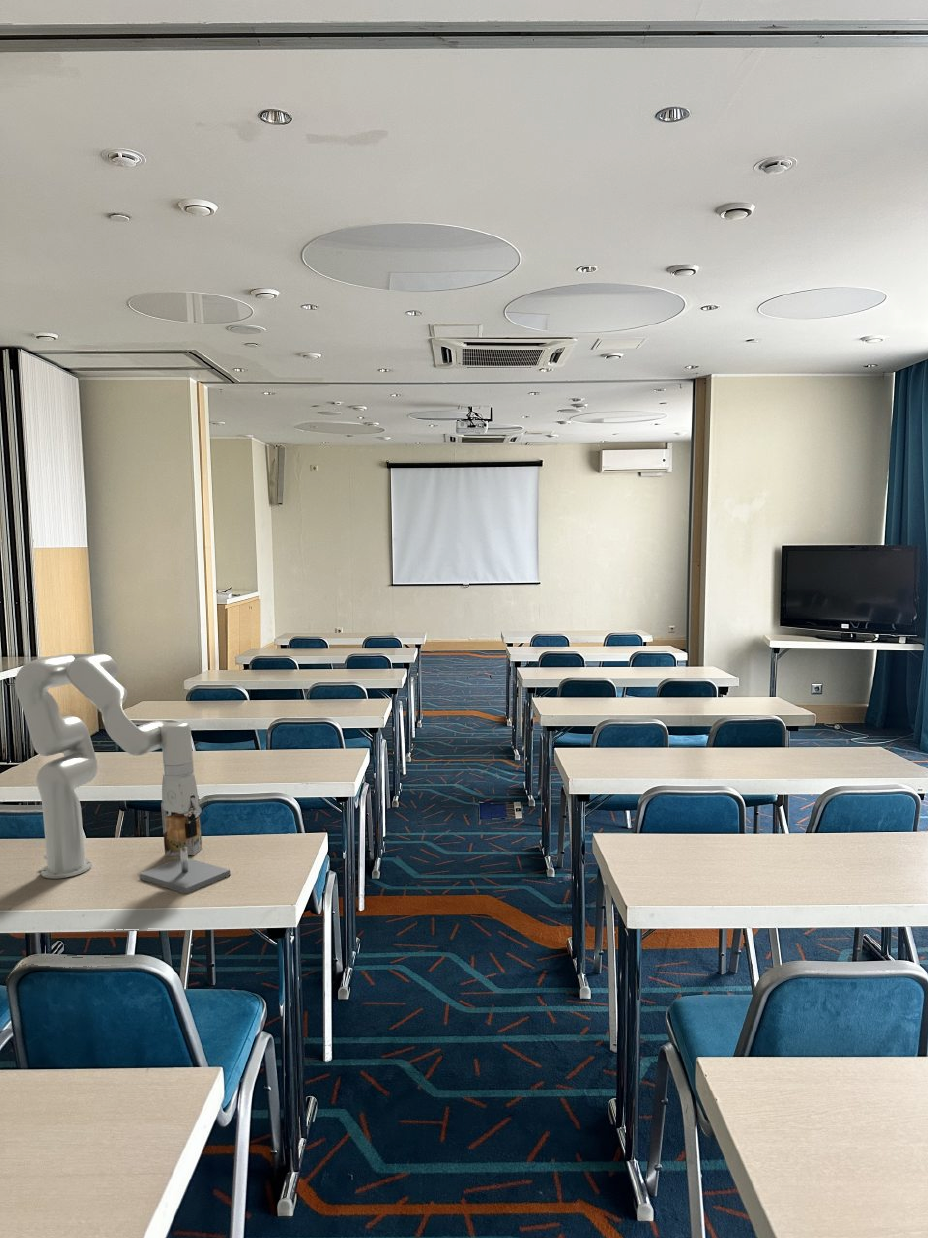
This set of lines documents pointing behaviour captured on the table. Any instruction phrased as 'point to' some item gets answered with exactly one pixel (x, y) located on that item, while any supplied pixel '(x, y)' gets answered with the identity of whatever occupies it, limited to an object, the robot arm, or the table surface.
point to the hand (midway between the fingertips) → (183, 834)
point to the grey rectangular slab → (185, 875)
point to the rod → (184, 859)
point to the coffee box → (174, 846)
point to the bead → (178, 827)
